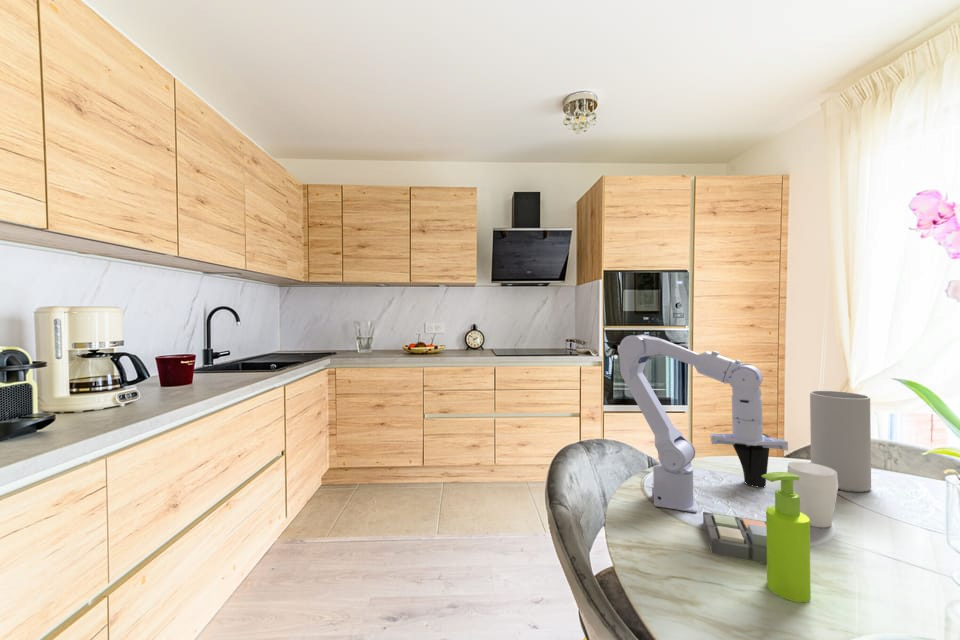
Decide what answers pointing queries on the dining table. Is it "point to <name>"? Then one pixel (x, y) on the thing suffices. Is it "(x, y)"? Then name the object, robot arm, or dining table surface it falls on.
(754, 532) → the slate key
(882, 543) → the dining table surface
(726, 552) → the grey divided tray
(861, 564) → the dining table surface
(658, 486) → the robot arm
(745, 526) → the terracotta key
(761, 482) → the drinking cup
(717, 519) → the sage key
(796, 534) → the soap dispenser
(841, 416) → the cylinder vase
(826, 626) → the dining table surface
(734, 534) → the ivory key
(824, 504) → the cup
